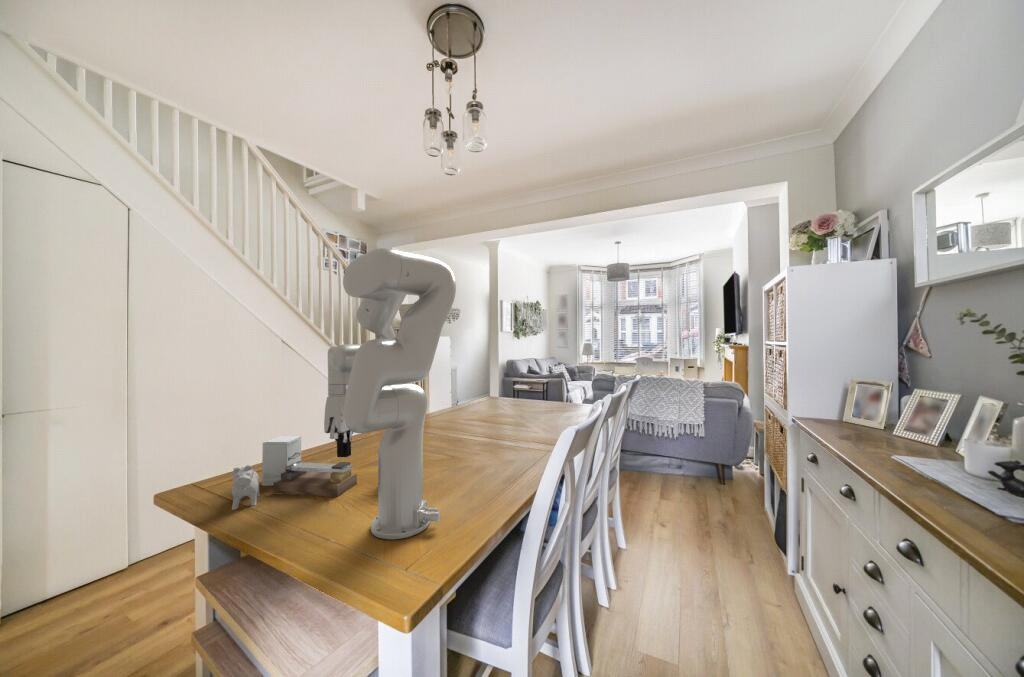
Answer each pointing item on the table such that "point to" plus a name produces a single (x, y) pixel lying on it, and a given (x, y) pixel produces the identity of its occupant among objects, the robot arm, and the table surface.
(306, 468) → the grey flat bar
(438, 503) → the table surface
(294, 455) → the supplement box
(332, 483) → the mount block
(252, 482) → the dog figurine
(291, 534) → the table surface
